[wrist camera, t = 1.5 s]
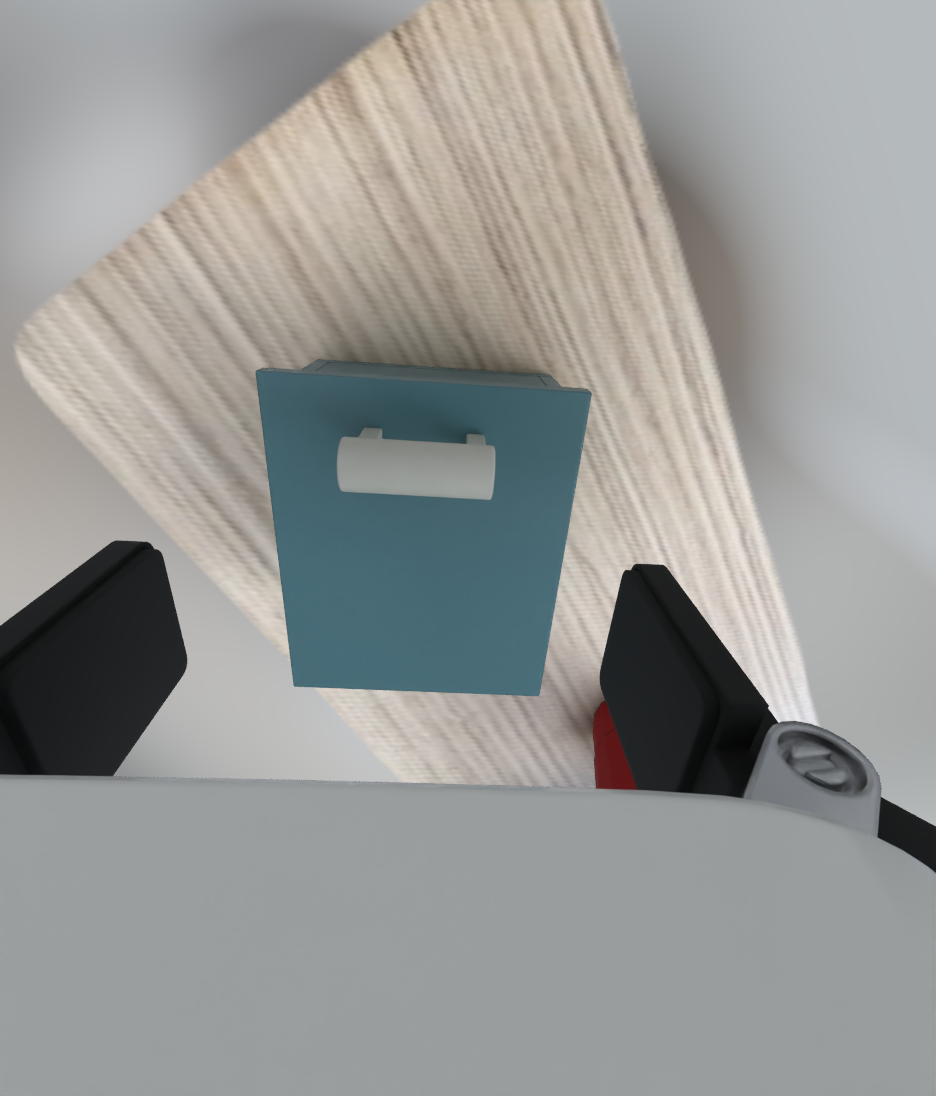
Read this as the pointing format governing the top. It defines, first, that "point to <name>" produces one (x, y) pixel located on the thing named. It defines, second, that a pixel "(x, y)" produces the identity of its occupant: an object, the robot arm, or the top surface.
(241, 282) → the top surface
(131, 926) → the robot arm
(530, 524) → the lid
